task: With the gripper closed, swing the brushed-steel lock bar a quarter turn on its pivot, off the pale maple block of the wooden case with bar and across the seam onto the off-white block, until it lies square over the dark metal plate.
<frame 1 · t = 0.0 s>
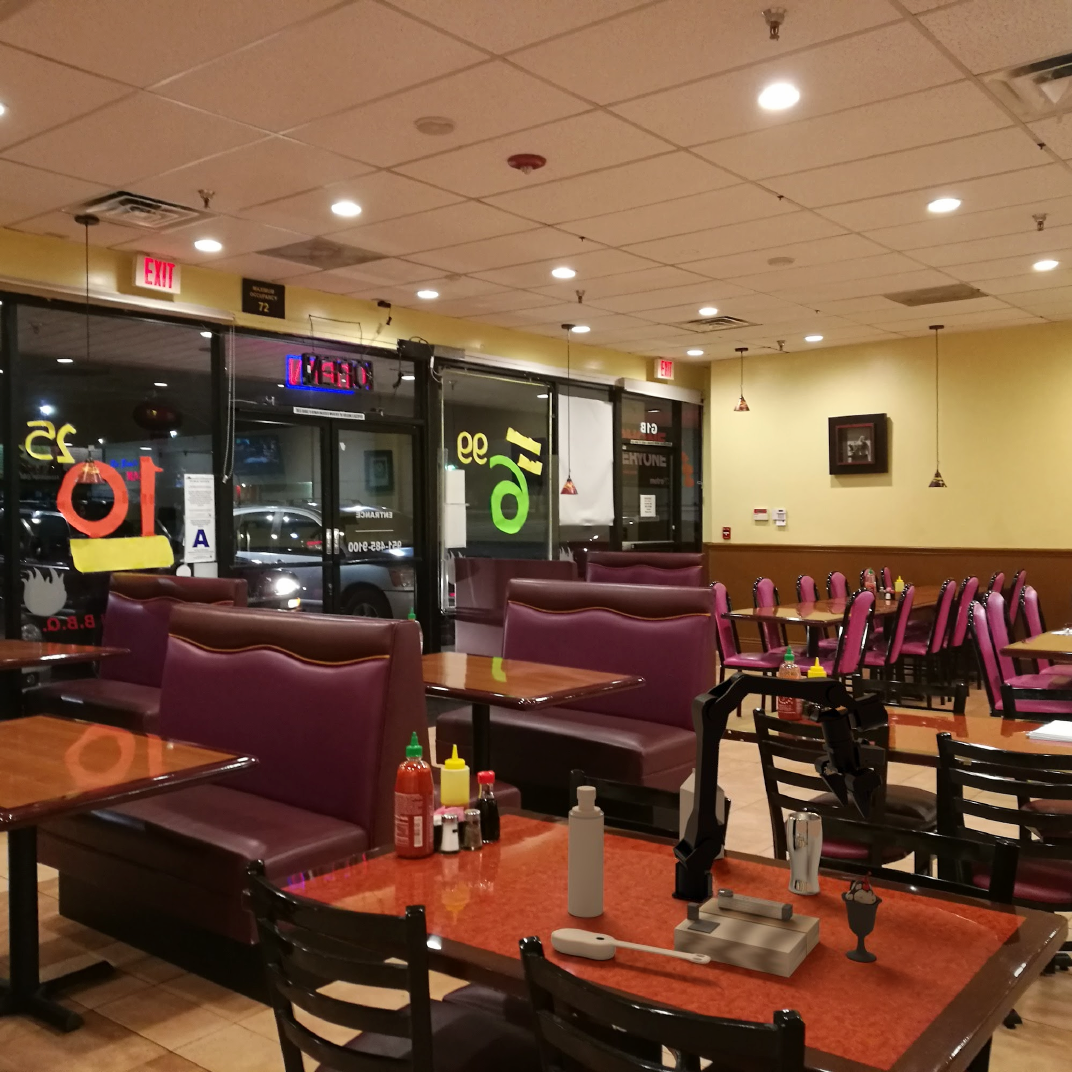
hand: (856, 811, 213), 15 cm above the table, tool pointing down, fingers open, 9 cm apart
milk carton: (701, 857, 233), on the table
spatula: (628, 962, 175), on the table
wooden case with bar: (747, 946, 182), on the table
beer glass: (803, 891, 211), on the table
sundae: (861, 957, 178), on the table
spray bottle: (585, 912, 198), on the table
latch bar: (753, 903, 187), point 6 cm above the table, hinge at 0.0°
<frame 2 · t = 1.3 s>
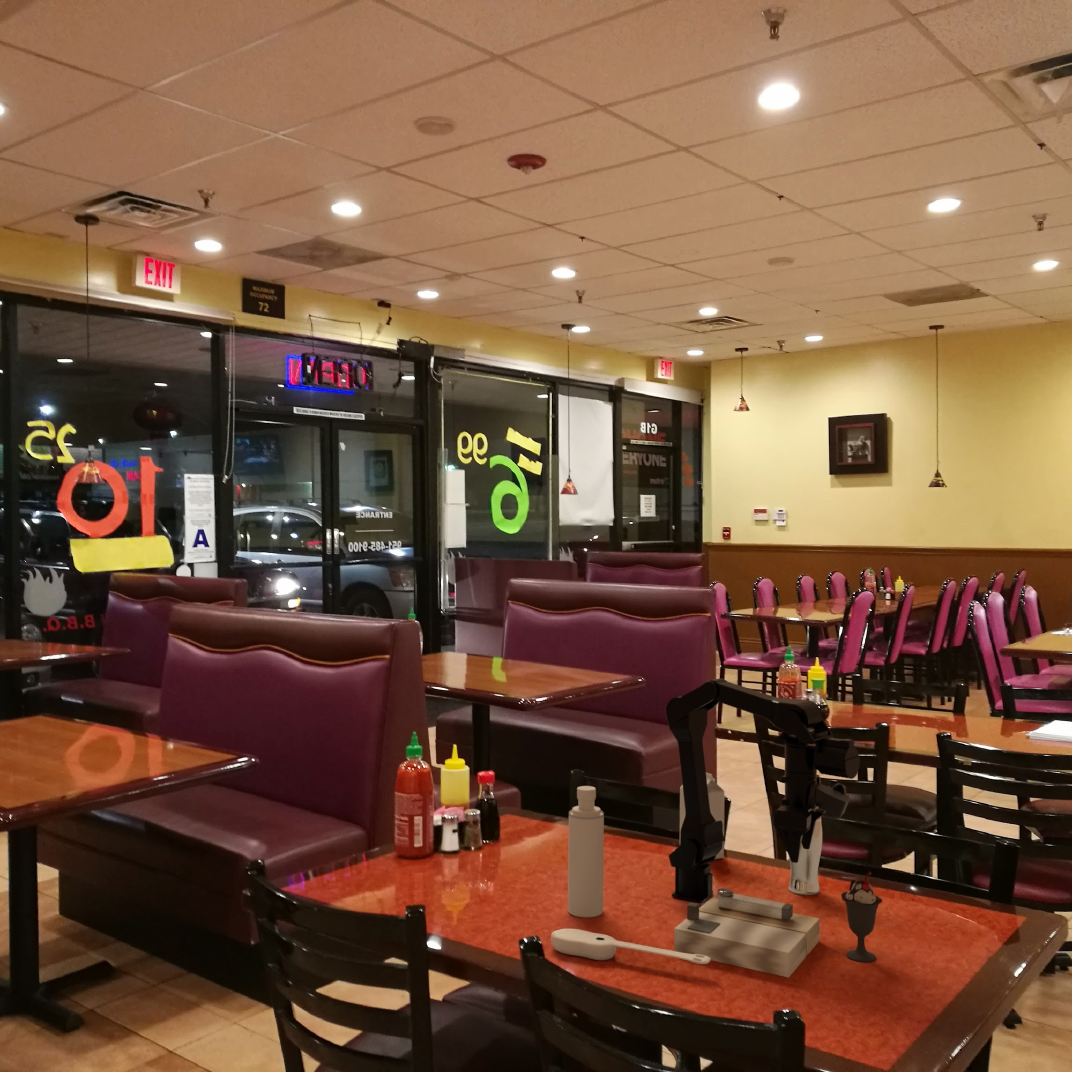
hand: (800, 855, 191), 13 cm above the table, tool pointing down, fingers open, 9 cm apart
nothing on the table moved.
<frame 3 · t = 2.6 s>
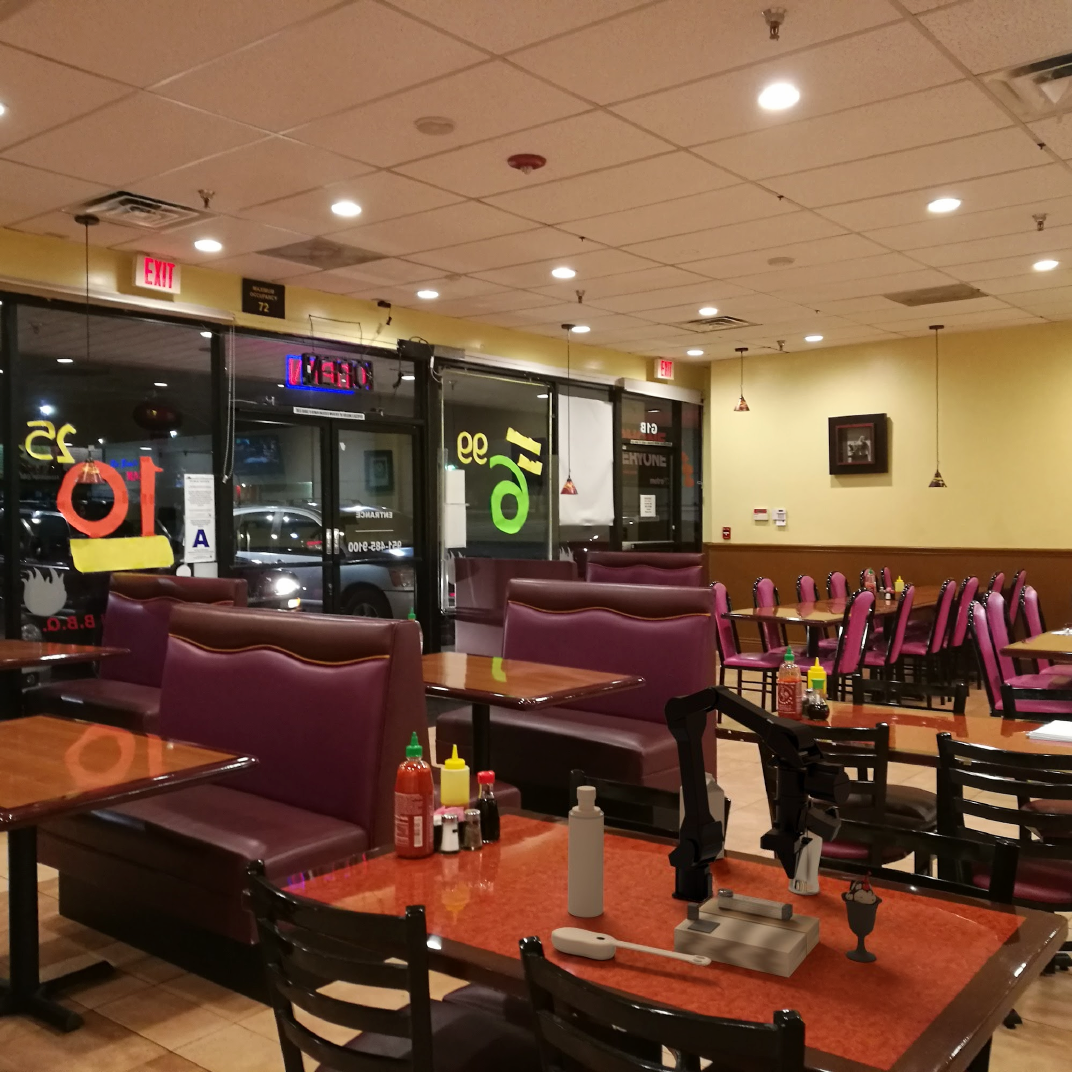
hand: (791, 878, 191), 9 cm above the table, tool pointing down, fingers closed
nothing on the table moved.
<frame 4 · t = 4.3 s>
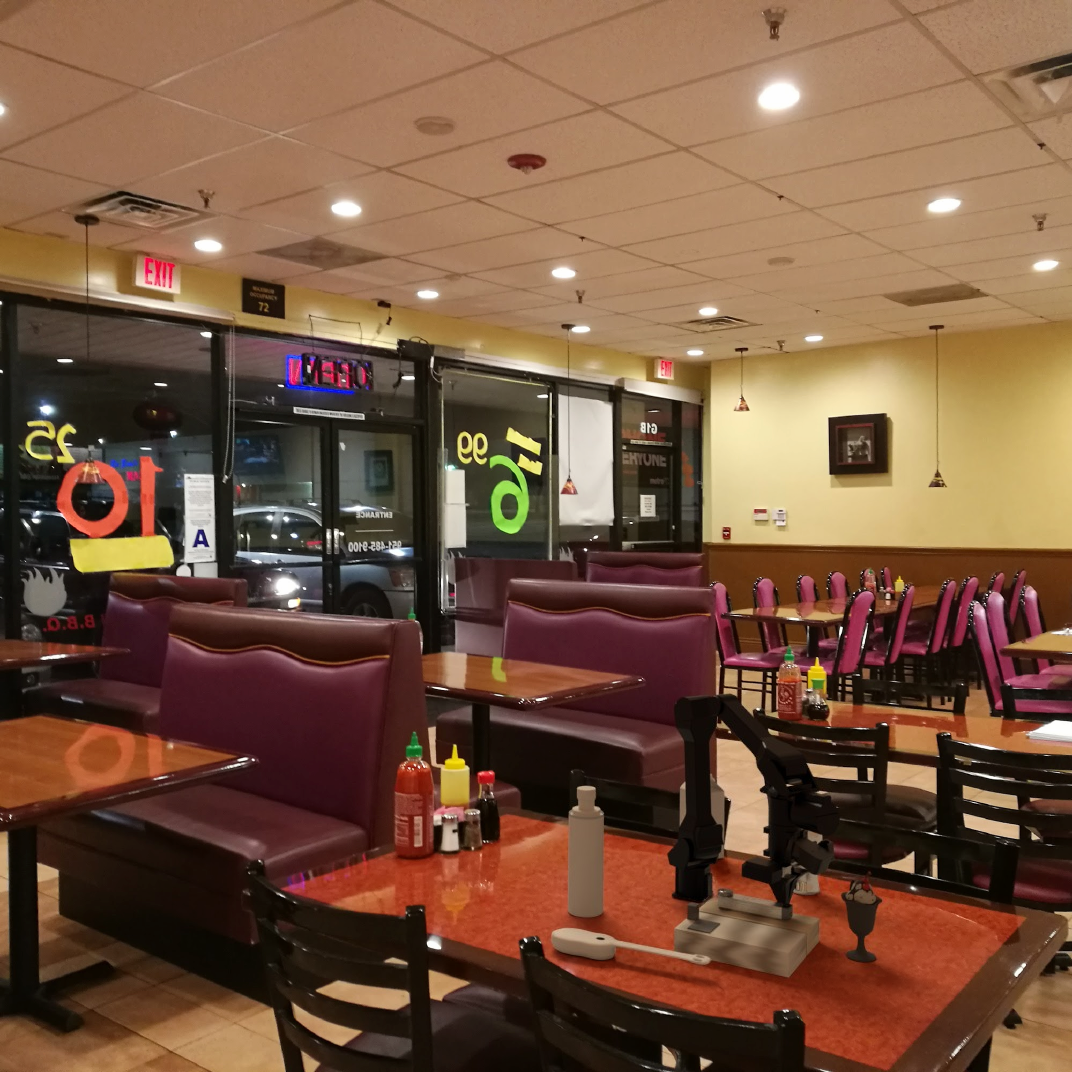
hand: (784, 909, 186), 5 cm above the table, tool pointing down, fingers closed
latch bar: (753, 903, 187), point 6 cm above the table, hinge at 0.0°, touching gripper
everything else where it was.
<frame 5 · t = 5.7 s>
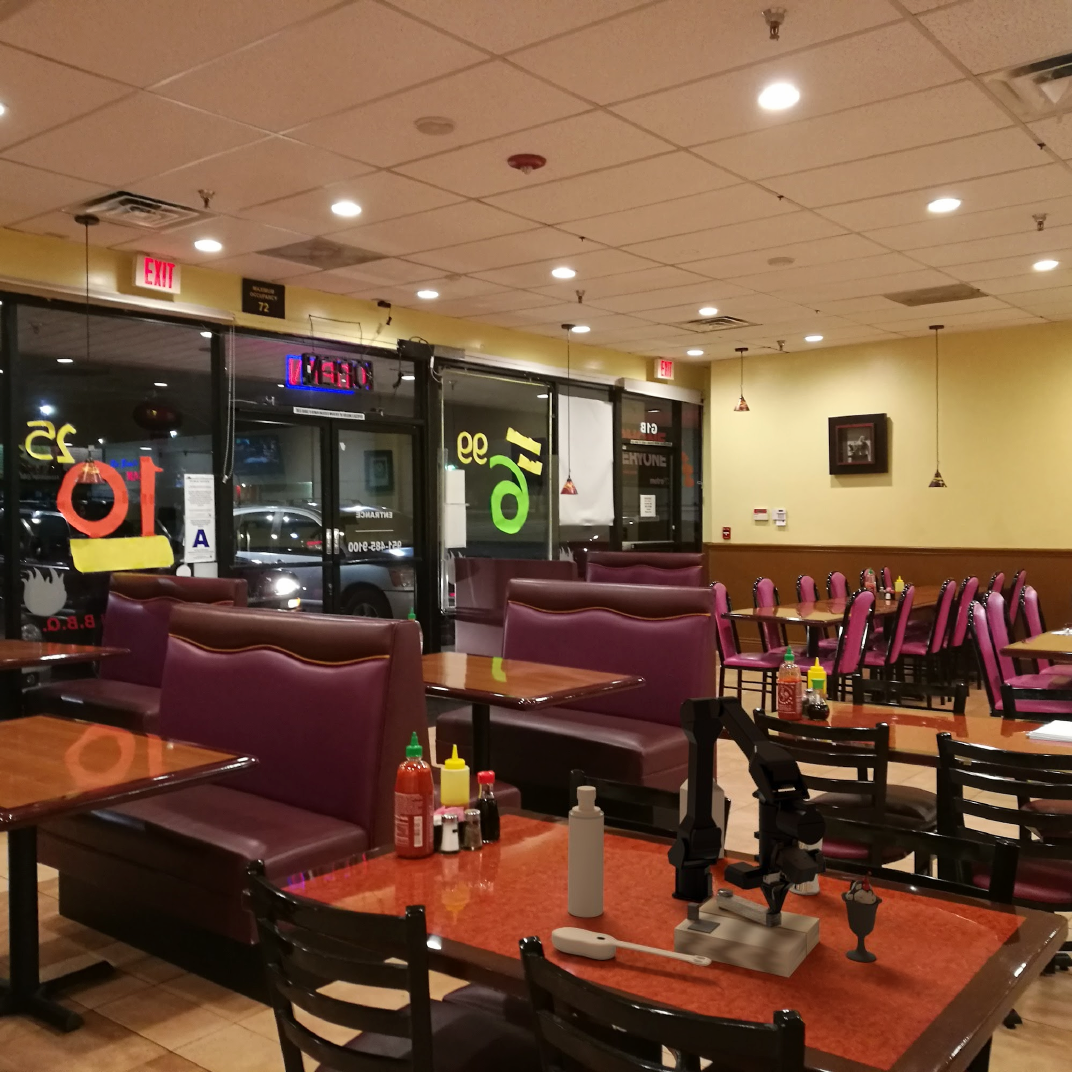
hand: (775, 917, 183), 5 cm above the table, tool pointing down, fingers closed
latch bar: (747, 906, 185), point 6 cm above the table, hinge at 23.6°, touching gripper
everything else where it was.
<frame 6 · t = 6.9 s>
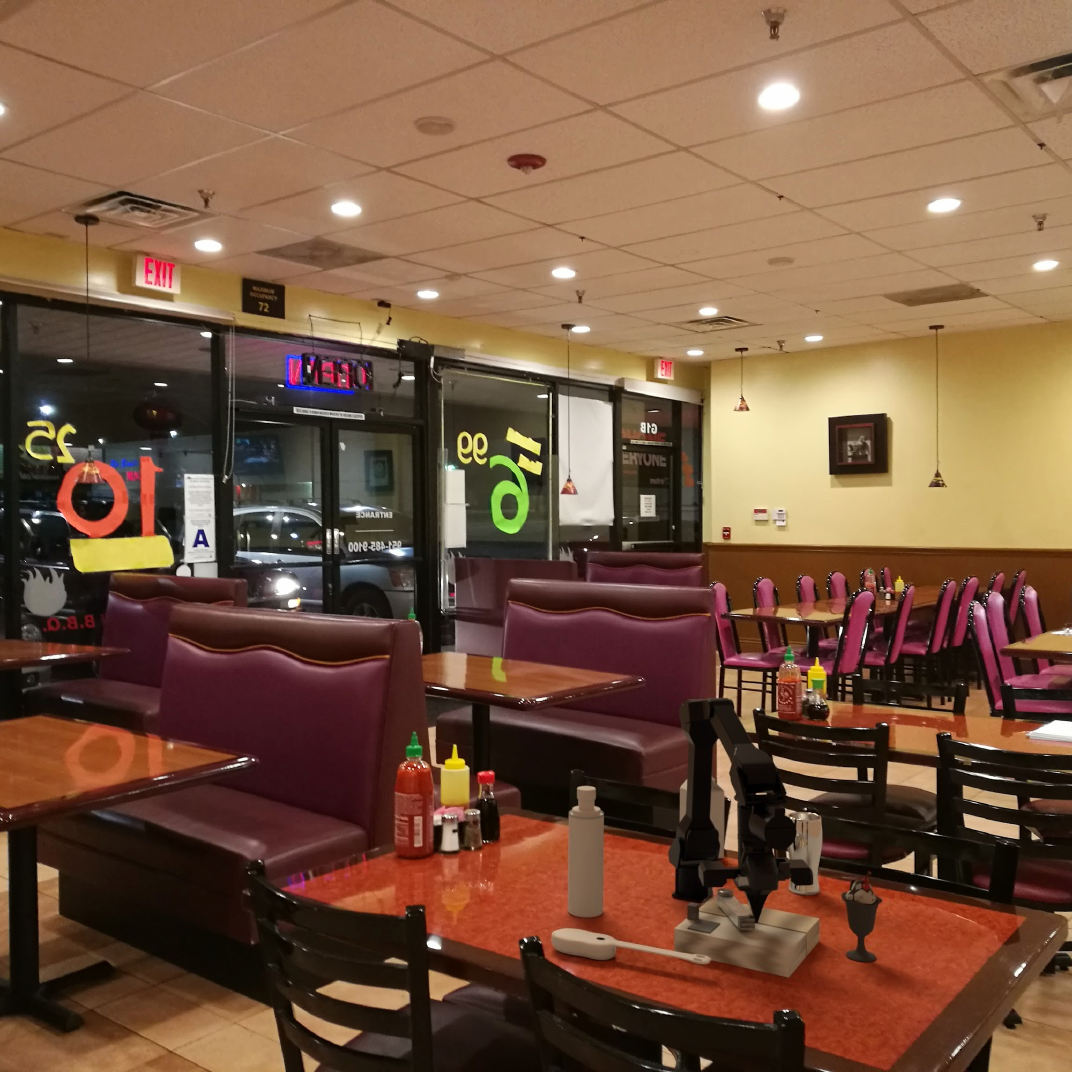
hand: (755, 922, 180), 5 cm above the table, tool pointing down, fingers closed
latch bar: (734, 908, 184), point 6 cm above the table, hinge at 51.7°, touching gripper
everything else where it was.
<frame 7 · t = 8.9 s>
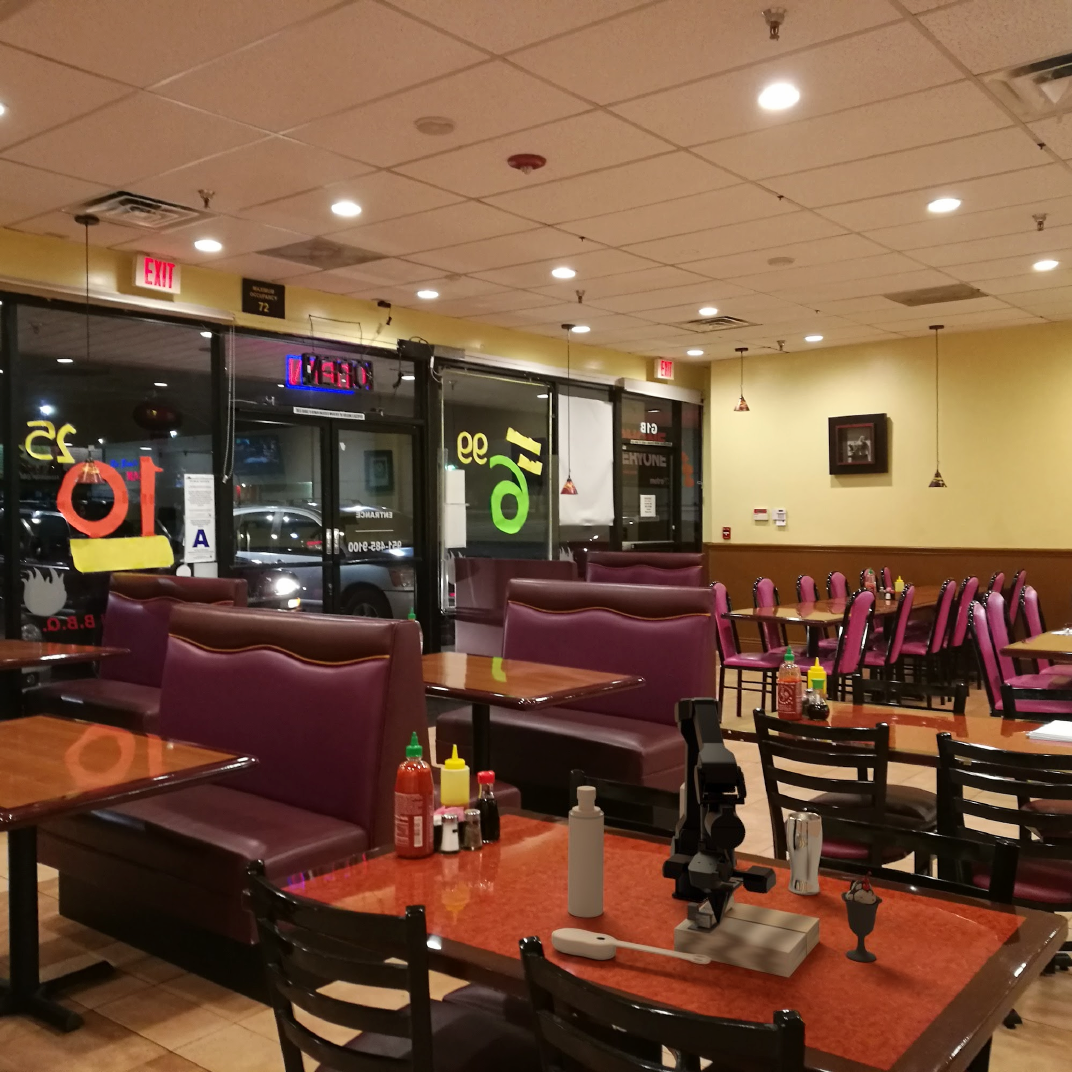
hand: (719, 922, 180), 5 cm above the table, tool pointing down, fingers closed
latch bar: (715, 907, 185), point 6 cm above the table, hinge at 88.3°, touching gripper
everything else where it was.
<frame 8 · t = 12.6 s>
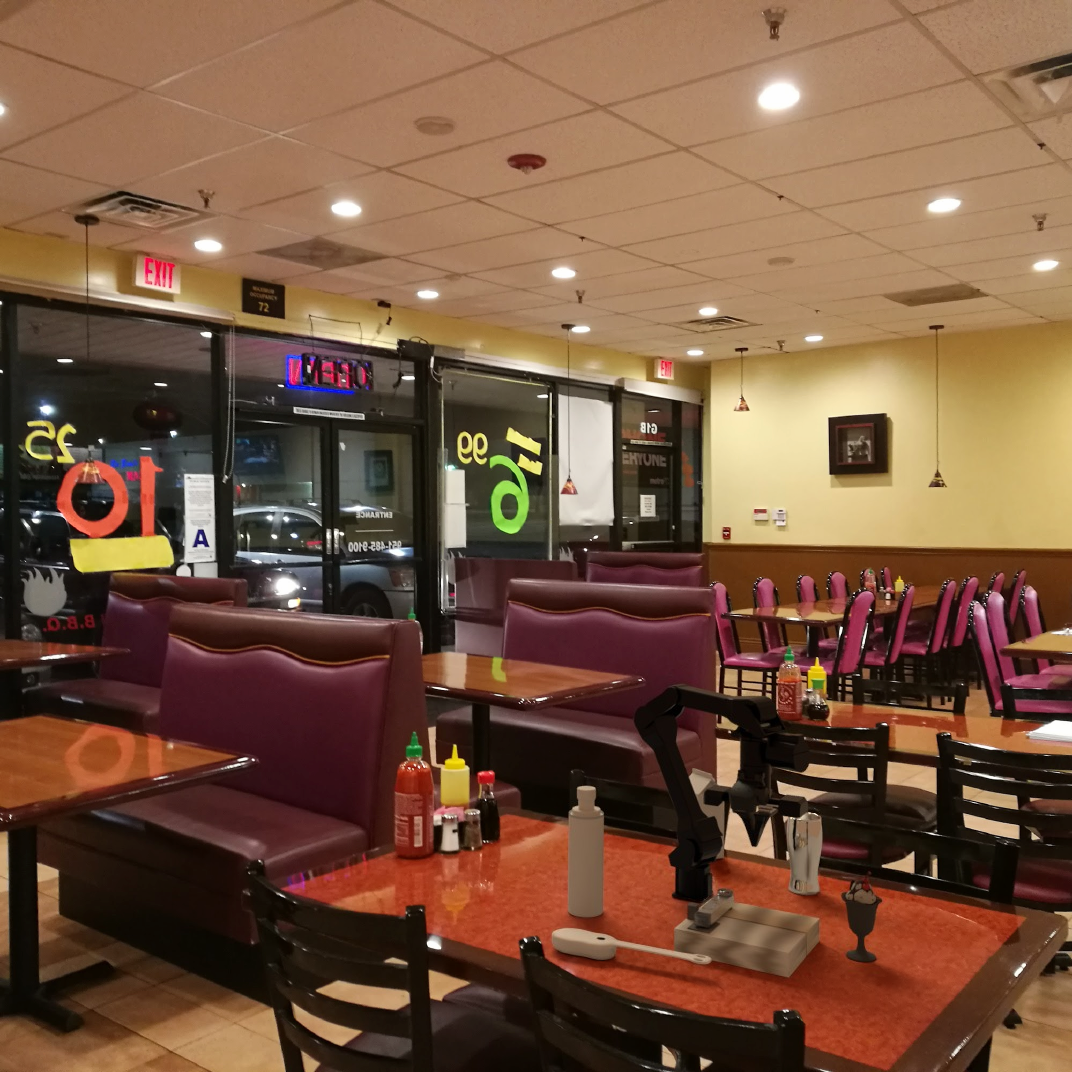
hand: (754, 846, 197), 13 cm above the table, tool pointing down, fingers closed
latch bar: (715, 907, 185), point 6 cm above the table, hinge at 89.4°
everything else where it was.
at the end: latch bar at +89° (first picture: +0°); sundae moved 0.2 cm from its start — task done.
